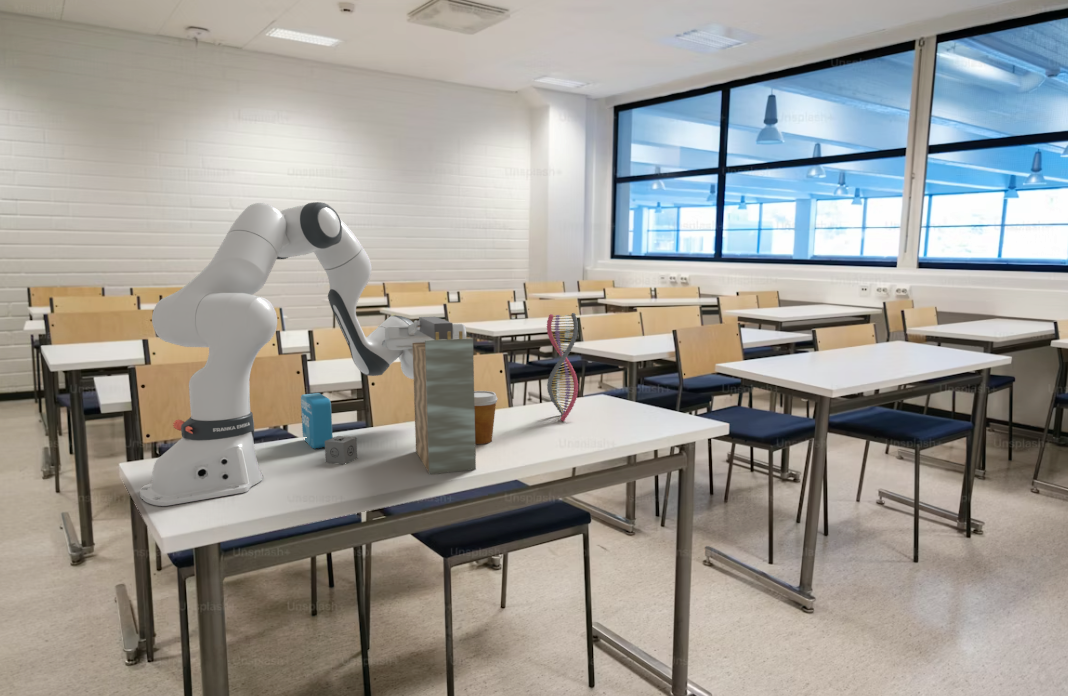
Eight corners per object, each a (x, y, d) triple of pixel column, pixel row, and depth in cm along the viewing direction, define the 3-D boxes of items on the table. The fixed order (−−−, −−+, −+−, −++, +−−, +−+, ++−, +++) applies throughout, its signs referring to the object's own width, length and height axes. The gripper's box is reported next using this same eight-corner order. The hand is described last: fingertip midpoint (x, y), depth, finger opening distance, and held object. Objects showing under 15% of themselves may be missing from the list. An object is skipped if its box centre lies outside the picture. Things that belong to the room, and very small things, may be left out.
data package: (302, 439, 178) (300, 393, 177) (320, 437, 180) (318, 391, 179) (314, 450, 168) (312, 401, 166) (333, 447, 170) (331, 399, 169)
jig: (415, 451, 166) (411, 325, 162) (457, 447, 169) (454, 323, 165) (429, 474, 148) (425, 333, 144) (475, 469, 151) (472, 331, 147)
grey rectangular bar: (419, 331, 170) (419, 317, 170) (435, 330, 172) (435, 316, 171) (434, 339, 152) (434, 323, 151) (452, 338, 153) (452, 323, 153)
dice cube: (325, 462, 158) (324, 441, 157) (338, 456, 162) (337, 435, 162) (344, 464, 156) (343, 442, 155) (357, 458, 160) (356, 437, 160)
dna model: (546, 421, 195) (546, 314, 192) (547, 414, 204) (546, 312, 200) (578, 421, 195) (578, 314, 191) (578, 414, 204) (577, 312, 200)
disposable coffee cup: (499, 436, 179) (499, 390, 178) (496, 446, 170) (495, 397, 169) (463, 436, 180) (461, 390, 178) (457, 446, 170) (456, 397, 169)
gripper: (380, 336, 178) (384, 312, 166) (458, 333, 185) (468, 309, 173) (382, 359, 176) (386, 336, 164) (461, 355, 182) (471, 333, 170)
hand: (429, 322), depth 168 cm, fingers closed on grey rectangular bar, 4 cm apart
